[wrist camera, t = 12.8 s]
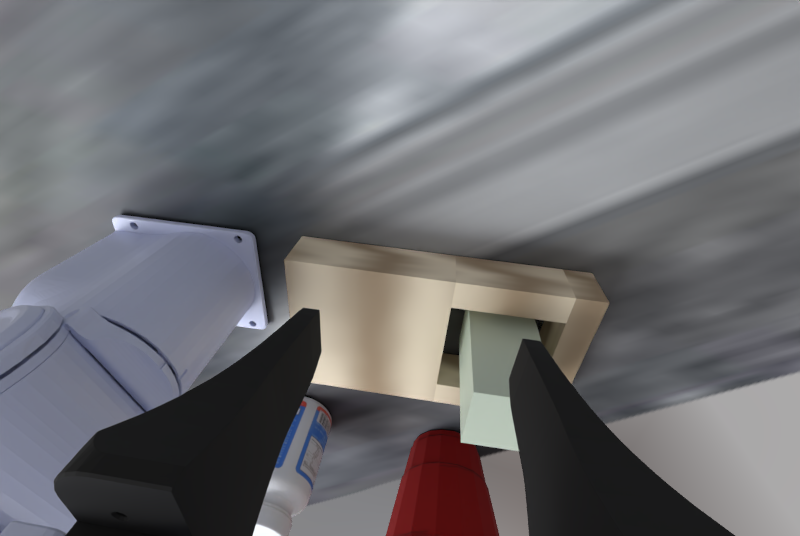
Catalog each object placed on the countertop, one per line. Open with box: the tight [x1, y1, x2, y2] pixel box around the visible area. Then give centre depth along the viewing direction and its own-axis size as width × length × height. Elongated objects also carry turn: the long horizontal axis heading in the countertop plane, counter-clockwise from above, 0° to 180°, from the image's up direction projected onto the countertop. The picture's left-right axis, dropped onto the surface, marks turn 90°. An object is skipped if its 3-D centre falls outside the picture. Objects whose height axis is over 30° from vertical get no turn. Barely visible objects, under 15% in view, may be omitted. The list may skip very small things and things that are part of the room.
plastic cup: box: [386, 429, 499, 536], centre depth 29 cm, size 11×11×12 cm
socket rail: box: [284, 236, 609, 405], centre depth 25 cm, size 18×10×3 cm, turn 86°
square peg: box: [459, 310, 541, 451], centre depth 22 cm, size 4×4×8 cm
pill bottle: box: [253, 397, 332, 536], centre depth 29 cm, size 6×5×10 cm
